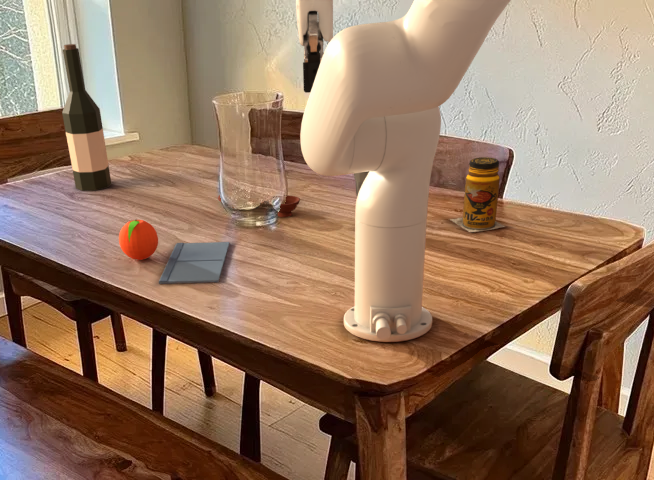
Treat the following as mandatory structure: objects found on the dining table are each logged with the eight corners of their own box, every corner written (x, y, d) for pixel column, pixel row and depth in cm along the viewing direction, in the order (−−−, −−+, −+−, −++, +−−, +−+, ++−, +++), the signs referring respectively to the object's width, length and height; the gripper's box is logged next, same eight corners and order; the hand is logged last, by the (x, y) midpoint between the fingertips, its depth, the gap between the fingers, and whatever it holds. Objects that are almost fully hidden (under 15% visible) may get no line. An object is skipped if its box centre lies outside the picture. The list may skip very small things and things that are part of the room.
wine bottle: (74, 183, 188) (48, 44, 172) (109, 179, 190) (87, 41, 173) (77, 192, 181) (51, 48, 165) (113, 188, 183) (91, 45, 167)
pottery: (245, 195, 173) (244, 174, 170) (315, 210, 161) (315, 188, 159) (207, 208, 166) (205, 187, 163) (277, 225, 154) (276, 202, 152)
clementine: (152, 268, 137) (146, 228, 133) (114, 267, 138) (107, 227, 135) (165, 252, 144) (160, 213, 140) (129, 251, 145) (123, 213, 141)
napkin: (218, 282, 130) (218, 279, 130) (158, 283, 131) (158, 281, 130) (229, 243, 146) (229, 241, 146) (176, 245, 147) (176, 242, 146)
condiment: (470, 233, 145) (476, 166, 138) (448, 220, 152) (453, 156, 145) (505, 228, 146) (513, 161, 140) (482, 215, 153) (488, 151, 147)
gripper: (340, -46, 103) (340, 95, 112) (337, -49, 117) (338, 76, 127) (283, -43, 103) (288, 97, 113) (287, -46, 118) (291, 78, 127)
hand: (314, 86), depth 120 cm, fingers open, 9 cm apart
